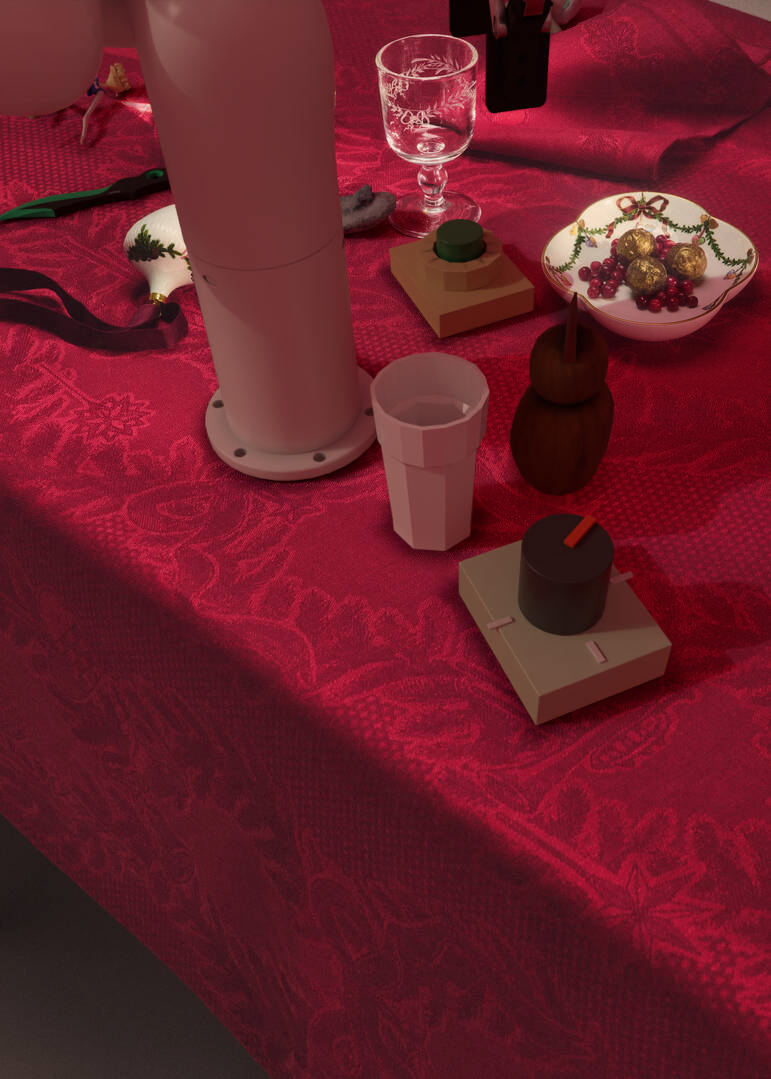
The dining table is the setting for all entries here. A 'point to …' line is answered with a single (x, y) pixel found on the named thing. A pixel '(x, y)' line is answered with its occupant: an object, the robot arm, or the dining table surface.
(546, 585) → the dial
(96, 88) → the figurine
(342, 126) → the dining table surface
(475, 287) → the button box
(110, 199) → the knife
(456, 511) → the cup
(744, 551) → the dining table surface
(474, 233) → the button
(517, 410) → the wooden figurine
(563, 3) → the toy
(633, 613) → the dial panel
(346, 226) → the fossil
